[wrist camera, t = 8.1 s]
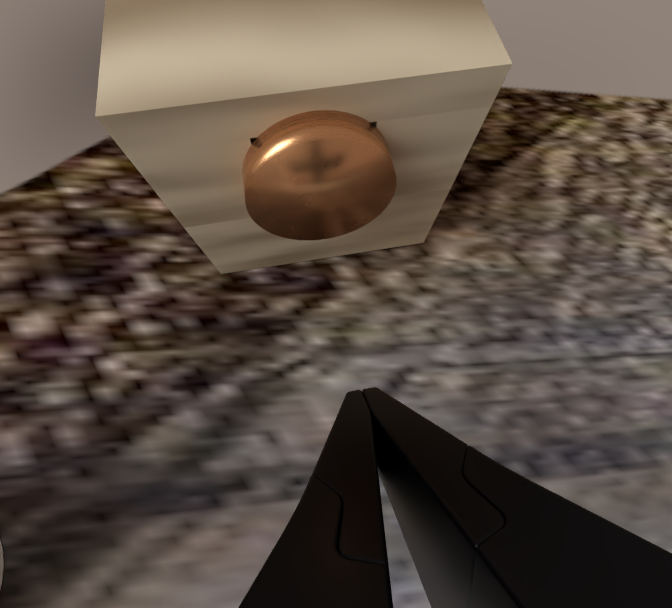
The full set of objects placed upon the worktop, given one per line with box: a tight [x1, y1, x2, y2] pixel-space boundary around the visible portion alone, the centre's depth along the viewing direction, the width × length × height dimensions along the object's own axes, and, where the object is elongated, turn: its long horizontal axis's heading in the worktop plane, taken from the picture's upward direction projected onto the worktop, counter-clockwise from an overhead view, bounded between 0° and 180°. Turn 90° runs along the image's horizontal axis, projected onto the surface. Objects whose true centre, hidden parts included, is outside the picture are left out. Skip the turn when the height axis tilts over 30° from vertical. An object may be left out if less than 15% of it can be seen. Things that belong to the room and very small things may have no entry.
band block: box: [95, 0, 512, 274], centre depth 16 cm, size 8×12×10 cm, turn 100°
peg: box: [242, 110, 397, 240], centre depth 14 cm, size 9×6×6 cm, turn 10°
